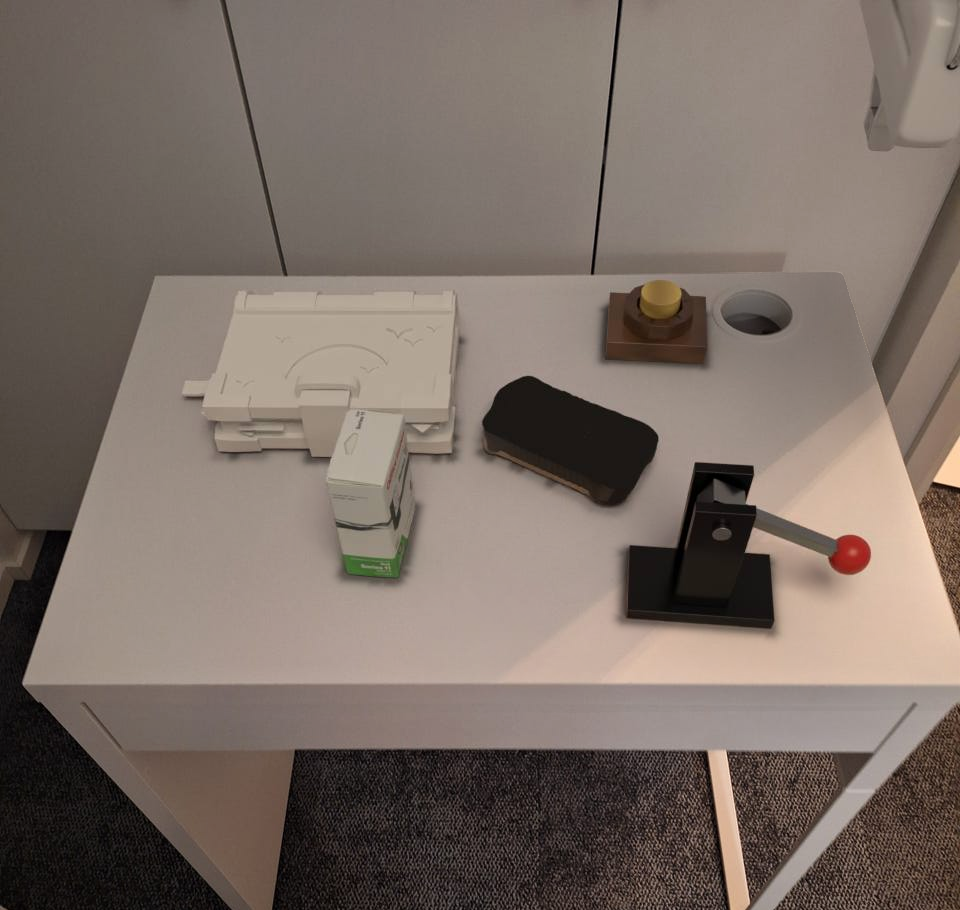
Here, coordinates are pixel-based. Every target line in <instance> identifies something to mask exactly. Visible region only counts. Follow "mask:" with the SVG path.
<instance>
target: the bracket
mask: <svg viewBox="0 0 960 910" xmlns="http://www.w3.org/2000/svg"><path fill="white" fill-rule="evenodd" d="M754 477H755V465H752V464H738V463H737V464H735V463H732V464H731V463H719V462H699V461H695V462H694V465H693V469H692V474H691V478H690V482H689V487H688V491H687V496H686V501H685V505H684V509H683V514H682V518H681V522H680V527H679V531H678V536H677V541H676V545H675V547H669V546H668V547H666V546H651V545H639V544H638V545H637V544H635V545H634V544H630V545H629V546H628V552H627V556H628V557H627V575H626V576H627V577H626V578H627V580H626V609H625V610H626V612H625V618H626V619H633V620H648V621H661V622H674V623H687V624H688V623H689V624H703V625H713V626H714V625H716V626H728V627H729V626H730V627H743V628H756V629H770V630H771V629H772V627H773V625H774V623H775V621H776V620H775V607H774V593H773V580H772V579H773V578H772V564H771V554H770V553H757V552H746V551H747V547H748V544H749V541H750V538H751V535H752V531H753V530H754V529H753V528H754V527H753V526H754V523H755V520H756V516H757V510H756V508H757V505H754V504H748V505H741V504H725V503H709V502H697V496H698V494H699V493H700V492H701V491H702V490H703V489H704V488H705V487H706V486H707V485H708V484H709V483H710V482H711V481H712V480H713V479H714V478H715V479H717V480H720V481H722V482H725V483H727V484H730V485H732V486H735V487H737V488H740V489H742V490H744V491H745V501H746V502H747V500H748V497H749V493H750V491H751V487H752V484H753V481H754Z"/></svg>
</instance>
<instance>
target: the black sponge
mask: <svg viewBox="0 0 960 910" xmlns="http://www.w3.org/2000/svg"><path fill="white" fill-rule="evenodd" d="M481 426H482V427H483V430H482V432H483V433H482V434H483V441H482V445H483V448H484V450H485V451H486V452H487V453H489V454H490V455H498V456H500V457H503V458H505V459H506V460H510V461H512V462H513V463H516V464H518V465H519V466H522V467H525V468H527V469H529V470H531V471H534V472H535V473H538V474H540V475H542V476H544V477H547V478H549V479H552V480H553V481H556V482H558V483H560V484H562V485H565V486H567V487H570V488H571V489H574V490H576V491H578V492H580V493H582V494H585V495H587V496H588V497H589V498H591V500H592V501H594V502H595V503H598V504H601V505H604V506H613V507H614V506H618V505H620V504H622V503H623V502H624V501H626V499H628V497H629V495H630V494H632V491H633V490H634V489H635V487H636V486H637V484H638V482H639V480H640V478H641V476H642V474H643V472H644V470H645V469H646V468H647V466H649V465H650V464H651V463H652V462H653V460H654V458H655V456H656V453H657V450H658V443H659V441H660V439H659V435H658V433H657V432H656V430H655V429H654V428H653V427H651V426H650V425H649V424H647V423H645V422H643V421H642V420H639V419H636V418H633V417H630V416H628V415H625V414H622V413H621V412H618V411H616V410H613V409H611V408H608V407H607V408H606V407H604V406H602V405H599V404H597V403H594V402H591V401H589V400H586V399H584V398H583V397H579V396H577V395H574V394H572V393H571V392H568V391H566V390H561V389H559V388H556V387H554V386H552V385H550V384H548V383H546V382H544V381H543V380H541V379H539V378H537V377H535V376H533V375H524V376H521V377H519V378H517V379H513V380H512V381H510V382H508V383H507V384H505V385H503V386H502V387H501V388H500V389H498V391H497V392H496V394H495V395H494V398H493V401H492V404H491V406H490V408H489V410H488V411H487V412H486V414H485V415H484V416H483V418H482V421H481Z"/></svg>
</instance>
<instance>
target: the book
mask: <svg viewBox="0 0 960 910" xmlns="http://www.w3.org/2000/svg"><path fill="white" fill-rule="evenodd" d="M459 311H460V310H459V299H458V293H456V291H455V289H444V290H443V291H442V293H417V291H416V290H376V291H374V293H322V291H321V290H276V291H274V293H254V291H253V290H252V289H241V290H238V292H237V294H236V295H235V298H234V302H233V312H232V315H231V319H230V322H229V325H228V330H227V332H226V336H225V340H224V343H223V347H222V350H221V353H220V357H219V360H218V363H217V367H216V370H215V372H212V374H211V376H210V378H209V379H208V380H185V381H184V384H183V388H182V390H181V396H182V397H203V400H202V401H203V402H202V406H201V408H202V411H201V412H200V414H201V415H203V416H205V418H206V420H208V421H216V424H215V430H214V438H213V439H214V443H215V445H216V447H217V451H218V452H227V453H228V452H229V453H243V452H262V450H263V449H309V452H310V456H311V457H312V458H332V455H333V453H334V450H335V446H336V442H337V440H338V438H339V435H340V432H341V428H342V425H343V422H344V420H345V417H346V413H347V412H348V411H349V410H350V409H351V408H353V407H354V408H363V409H373V410H381V411H389V412H395V413H401V414H404V417H405V425H406V434H407V443H408V452H409V453H416V454H436V455H437V454H439V455H440V454H452V453H453V447H454V437H455V436H454V432H455V415H456V405H454V400H455V386H456V375H457V363H458V352H459V344H460V319H459V318H460V314H459Z"/></svg>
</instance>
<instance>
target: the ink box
mask: <svg viewBox="0 0 960 910" xmlns="http://www.w3.org/2000/svg"><path fill="white" fill-rule="evenodd" d="M325 484H326V489H327V493H328V497H329V503H330V506H331V507H330V508H331V511H332V516H333V519H334V523H335V529H336V532H337V537H338V542H339V546H340V550H341V554H342V559H343V563H344V567H345V571H346V573H347V574H348V575H355V576H356V575H357V576H365V577H375V578H398V577H399V575H400V571H401V568H402V562H403V560H404V555H405V552H406V547H407V543H408V539H409V536H410V535H409V534H410V531H411V526H412V523H413V518H414V515H415V511H416V503H415V496H414V495H415V494H414V486H413V478H412V468H411V461H410V452H408V443H407V434H406V425H405V417H404V414H401V413H395V412H389V411H381V410H373V409H363V408H354V407H353V408H351V409H350V410H349V411H348V412H347V413H346V417H345V420H344V422H343V425H342V428H341V432H340V435H339V438H338V440H337V442H336V446H335V450H334V453H333V455H332V457H330V461H329V465H328V468H327V471H326V476H325Z"/></svg>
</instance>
